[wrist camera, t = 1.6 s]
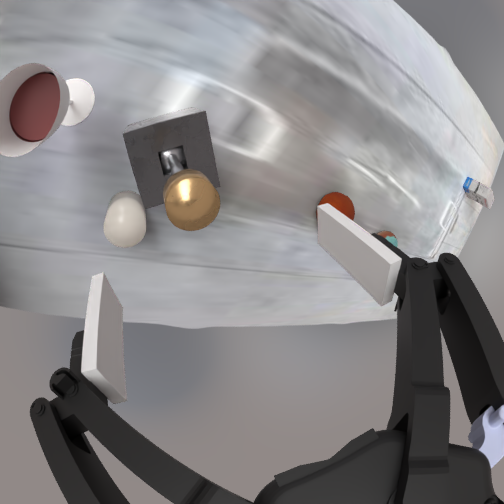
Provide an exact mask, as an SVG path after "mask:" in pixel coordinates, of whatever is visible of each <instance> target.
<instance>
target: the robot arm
mask: <svg viewBox="0 0 504 504" xmlns="http://www.w3.org/2000/svg"><path fill="white" fill-rule="evenodd" d="M317 212H318V244H319V245H320V246H321V247H322V248H323V249H324V250H325V251H326V252H328V253H329V254H330V255H331V256H332V257H333V258H334V259H335V260H336V261H337V262H338V263H339V264H340V265H341V266H342V267H343V268H344V269H345V270H346V271H347V272H348V273H349V274H350V275H351V276H352V277H353V278H354V279H355V280H356V281H357V282H358V283H359V284H360V285H361V286H362V287H363V288H364V289H365V290H366V291H367V292H368V293H369V294H370V295H371V296H372V297H373V298H374V299H375V300H376V302H377V303H378V304H379V305H380V306H383V305H385V304H387V303H389V302H391V301H392V298H393V295H394V292H395V293H396V294H397V295H398V300H397V303H396V307H395V310H394V311H396V310H397V357H396V374H395V387H394V397H393V406H392V413H391V417H390V419H389V422H388V425H387V430H381V431H376V432H375V431H374V429H370V430H369V431H367V432H365V433H364V434H362V435H360V436H358V437H357V438H355V439H353V440H351V441H350V442H349V443H348V444H347V445H346V446H344V447H343V448H342V449H341V450H340V451H339V452H337V453H336V454H335V455H334V456H333V457H332V458H330V459H328V460H324V461H320V462H315V463H310V464H306V465H300V466H297V467H295V468H293V469H290V470H288V471H285V472H283V473H280V474H278V475H275V476H274V477H275V480H273V481H272V482H270V483H269V484H268V485H266V486H265V487H264V489H262V490H261V492H260V493H259V494H258V496H257V497H256V499H255V501H254V503H253V502H251V501H248V500H246V499H244V498H242V497H240V496H238V495H236V494H234V493H232V492H230V491H228V490H226V489H224V488H222V487H220V486H219V485H217V484H215V483H213V482H211V481H210V480H208V479H206V478H205V477H203V476H201V475H200V474H198V473H196V472H194V471H193V470H191V469H190V468H188V467H187V466H185V465H183V464H182V463H180V462H179V461H177V460H176V459H174V458H173V457H172V456H170V455H169V454H167V453H166V452H164V451H163V450H161V449H160V448H159V447H157V446H156V445H155V444H153V443H152V442H151V441H149V440H148V439H147V438H145V437H144V436H143V435H142V434H140V433H139V432H138V431H137V430H135V429H134V428H133V427H131V426H130V425H129V424H128V423H127V422H126V421H124V420H123V419H122V418H121V417H120V416H118V415H117V414H116V413H115V412H114V411H113V410H112V409H111V408H110V407H108V401H107V399H108V400H110V401H111V402H112V403H113V404H116V403H121V402H125V401H127V392H126V382H125V368H124V353H123V352H124V351H123V307H122V305H121V304H120V302H119V300H118V298H117V296H116V295H115V293H114V291H113V289H112V287H111V285H110V283H109V282H108V280H107V278H106V276H105V274H104V272H103V273H100V274H97V275H94V276H92V281H91V286H90V292H89V299H88V306H87V313H86V321H85V329H84V330H83V331H80V332H77V333H76V335H75V337H74V339H73V342H72V351H71V359H70V369H68V368H60V369H58V370H57V371H55V372H54V374H53V375H52V377H51V379H50V388H51V390H52V391H53V392H54V393H55V394H56V395H57V396H58V397H57V398H55V399H53V400H52V401H50V402H49V401H48V400H47V399H45V398H38V399H36V400H35V401H34V402H33V403H32V405H31V409H30V416H31V419H32V422H33V425H34V428H35V431H36V434H37V437H38V440H39V442H40V445H41V447H42V450H43V452H44V455H45V457H46V459H47V462H48V464H49V466H50V469H51V471H52V473H53V475H54V477H55V479H56V481H57V483H58V485H59V487H60V489H61V491H62V493H63V494H64V497H65V498H66V500H67V502H68V504H130V503H129V502H128V501H127V499H126V498H125V497H124V495H123V494H122V493H121V491H120V490H119V489H118V487H117V486H116V484H115V483H114V481H113V480H112V478H111V477H110V475H109V474H108V472H107V471H106V469H105V468H104V466H103V465H102V463H101V461H100V460H99V458H98V456H97V455H96V453H95V451H94V450H93V448H92V446H91V445H90V443H89V441H88V439H87V437H86V436H85V434H84V432H86V431H88V430H89V431H90V432H91V433H92V434H93V435H94V436H95V437H96V438H97V439H98V440H99V441H100V443H101V444H102V445H104V446H105V447H106V448H107V449H108V450H109V451H110V452H111V453H112V454H113V455H114V456H115V457H116V458H117V459H118V460H119V461H121V462H122V463H123V464H124V465H125V466H126V467H127V468H129V469H130V470H131V471H132V472H133V473H134V474H135V475H137V476H138V477H139V478H140V479H142V480H143V481H144V482H146V483H147V484H148V485H149V486H150V487H152V488H153V489H154V490H156V491H157V492H158V493H160V494H161V495H163V496H164V497H165V498H167V499H168V500H170V501H171V502H173V503H174V504H504V502H503V501H501V500H500V499H499V498H498V497H497V496H496V494H495V492H494V489H493V485H492V478H491V468H492V467H493V466H494V465H495V464H496V463H497V462H498V461H499V460H500V459H501V458H502V457H503V456H504V342H503V340H502V338H501V335H500V333H499V331H498V329H497V327H496V325H495V323H494V321H493V319H492V316H491V315H490V313H489V311H488V309H487V307H486V305H485V303H484V301H483V299H482V297H481V296H480V294H479V292H478V290H477V288H476V287H475V285H474V283H473V282H472V280H471V278H470V277H469V275H468V273H467V272H466V270H465V268H464V267H463V265H462V263H461V262H460V260H459V259H458V258H457V257H456V256H455V255H453V254H451V253H442V254H441V255H440V256H439V259H438V262H432V263H428V262H427V261H425V260H424V259H421V258H410V257H409V256H407V255H406V254H405V253H403V252H402V251H401V250H400V249H398V248H397V247H396V246H394V245H393V244H392V243H391V242H389V241H388V240H387V239H385V238H384V237H383V236H380V235H378V234H375V233H373V234H369V233H368V232H367V231H365V230H364V229H363V228H361V227H360V226H359V225H357V224H356V223H355V222H353V221H352V220H351V219H349V218H348V217H347V216H345V215H344V214H342V213H341V212H340V211H338V210H337V209H335V208H334V207H333V206H331V205H330V204H328V203H326V204H323V205H319V206H317ZM440 328H441V331H442V333H443V336H444V339H445V342H446V345H447V347H448V350H449V353H450V356H451V359H452V363H453V365H454V369H455V372H456V376H457V379H458V382H459V386H460V390H461V393H462V397H463V401H464V405H465V408H466V412H467V415H468V417H469V420H470V422H471V424H472V427H471V432H470V433H469V436H468V438H469V441H470V442H471V443H473V447H472V448H470V447H464V446H460V445H455V444H450V443H449V429H450V390H449V388H447V387H445V386H444V379H443V378H444V377H443V357H442V344H441V333H440Z"/></svg>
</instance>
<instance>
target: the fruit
mask: <svg viewBox="0 0 504 504" xmlns="http://www.w3.org/2000/svg"><path fill="white" fill-rule="evenodd" d="M326 203H328V204H330V205H331V206H333V207H334V208H335V209H337V210H338V211H340V212H341V213H342V214H344V215H345V216H347V217H348V218H349V219H351V220H352V221H353V219H354V216H355V211H354V206H353V203H352V201H351V200H350V198H349V197H348V196H345V195H344V194H342V193H339V192H332V193H329V194H327V195H325V196H324V197H323V198H322V199H321V201H320V203H319V205H323V204H326ZM319 205H318V206H319ZM316 215H317V221H318V212H317V211H316Z"/></svg>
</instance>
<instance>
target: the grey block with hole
mask: <svg viewBox="0 0 504 504" xmlns="http://www.w3.org/2000/svg"><path fill="white" fill-rule="evenodd" d="M123 137H124V141H125V145H126V148H127V152H128V156H129V159H130V163H131V166H132V170H133V173H134V176H135V180H136V183H137V186H138V189H139V193H140V196H141V199H142V202H143V205H144V208H145V209H148V208H151V207H154V206H157V205H160V204H163V203H164V198H163V190H164V186H165V184H166V182H167V180H168V179H169V178H170V177H171V176H172V172H168V173H165V174H163V171H162V167H161V163H160V159H159V155H158V152H160V151H164V150H167V149H171V148H174V147H178V146H181V145H182V147H183V151H184V156H185V160H186V164H187V167H185V168H183V169H184V170H185V169H193V170H197V171H199V172H201V173H203V174H204V175H205V176H206V177H207V178H208V180H209V181H210V182H211V184H212V185H213V186H214V188H217V187H220V184H219V178H218V173H217V168H216V163H215V158H214V153H213V147H212V142H211V137H210V132H209V126H208V121H207V116H206V111H203V110H200V109H196V108H187V109H183V110H179V111H175V112H171V113H168V114H164V115H160V116H157V117H153V118H150V119H147V120H143V121H140V122H137V123H134V124H131V125H128V126H127V128H126V130H125V131H124V133H123Z"/></svg>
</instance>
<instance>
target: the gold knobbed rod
mask: <svg viewBox="0 0 504 504" xmlns="http://www.w3.org/2000/svg"><path fill="white" fill-rule="evenodd" d="M158 155H159V159H160V163H161V167H162V171H163V174H165V173H168V172H172V176H171V177H170V178H169V179H168V180H167V182H166V184H165V186H164V190H163V198H164V203H165V208H166V212H167V216H168V218H169V220H170V221H171V222H172V223H173V224H174V225H175V226H176V227H178V228H180V229H182V230H187V231H195V230H199V229H202V228H204V227H206V226H208V225H209V224H210V223H211V222H212V221H213V220H214V219H215V218H216V216H217V214H218V212H219V208H220V198H219V194H218V192H217V191H216V189H215V188H214V186H213V185H212V184H211V182H210V181H209V180H208V178H207V177H206V176H205V175H204V174H203V173H201V172H199V171H197V170H193V169H185V170H184V169H183V168H185V167H187V164H186V160H185V156H184V151H183V147H182V145H181V146H178V147H174V148H171V149H167V150H164V151H160V152H158Z"/></svg>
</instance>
